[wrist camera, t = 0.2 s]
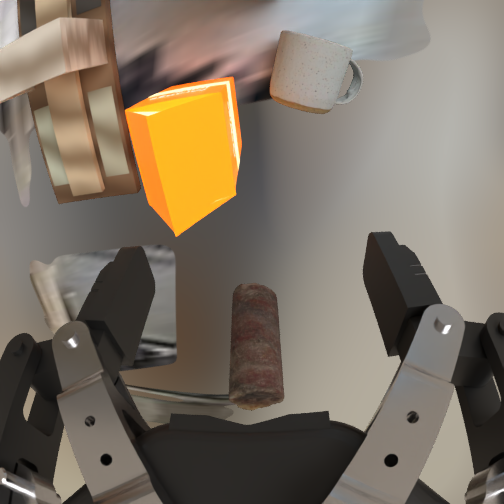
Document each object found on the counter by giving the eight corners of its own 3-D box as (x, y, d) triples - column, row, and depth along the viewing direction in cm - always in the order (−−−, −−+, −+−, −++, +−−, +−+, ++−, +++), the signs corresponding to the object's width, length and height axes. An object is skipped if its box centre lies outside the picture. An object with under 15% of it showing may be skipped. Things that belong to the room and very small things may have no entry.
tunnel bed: (24, -45, 16) (-25, -50, 7) (107, -86, 16) (67, -111, 7) (63, 199, 41) (26, 240, 33) (141, 188, 41) (111, 232, 32)
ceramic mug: (265, 95, 33) (268, 106, 27) (278, 31, 28) (285, 26, 22) (349, 114, 34) (370, 130, 28) (365, 54, 30) (391, 58, 23)
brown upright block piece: (275, 276, 50) (281, 388, 34) (280, 307, 54) (287, 412, 38) (228, 282, 51) (217, 393, 35) (238, 312, 55) (232, 415, 39)
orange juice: (182, 152, 38) (127, 242, 22) (169, 86, 32) (90, 128, 16) (243, 144, 37) (232, 233, 21) (234, 75, 32) (211, 102, 16)
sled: (34, -50, 15) (7, -55, 11) (76, -73, 15) (52, -83, 10) (71, 193, 39) (50, 215, 34) (111, 187, 38) (92, 209, 34)
